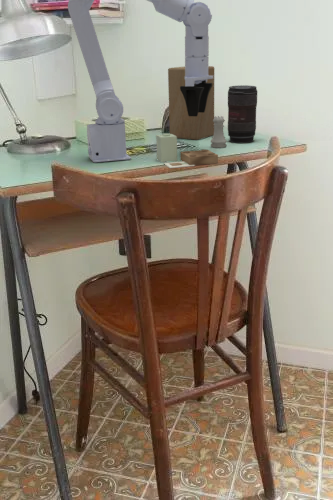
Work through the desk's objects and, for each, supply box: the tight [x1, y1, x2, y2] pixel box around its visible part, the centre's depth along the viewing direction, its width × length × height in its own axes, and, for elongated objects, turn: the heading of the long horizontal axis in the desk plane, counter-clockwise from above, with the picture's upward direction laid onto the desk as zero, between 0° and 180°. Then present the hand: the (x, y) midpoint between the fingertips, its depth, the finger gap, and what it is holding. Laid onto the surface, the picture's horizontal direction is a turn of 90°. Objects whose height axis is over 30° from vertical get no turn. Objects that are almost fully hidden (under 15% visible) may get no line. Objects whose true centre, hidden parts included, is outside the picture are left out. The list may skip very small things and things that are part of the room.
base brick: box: [179, 149, 219, 166], centre depth 129 cm, size 7×7×2 cm
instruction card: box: [163, 161, 196, 169], centre depth 126 cm, size 6×5×1 cm
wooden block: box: [167, 65, 215, 141], centre depth 160 cm, size 10×10×20 cm
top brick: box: [155, 132, 178, 163], centre depth 131 cm, size 4×4×6 cm
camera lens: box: [227, 84, 258, 144], centre depth 151 cm, size 8×8×15 cm
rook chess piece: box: [210, 115, 228, 149], centre depth 145 cm, size 4×4×8 cm
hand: (196, 114), depth 135 cm, fingers open, 7 cm apart
